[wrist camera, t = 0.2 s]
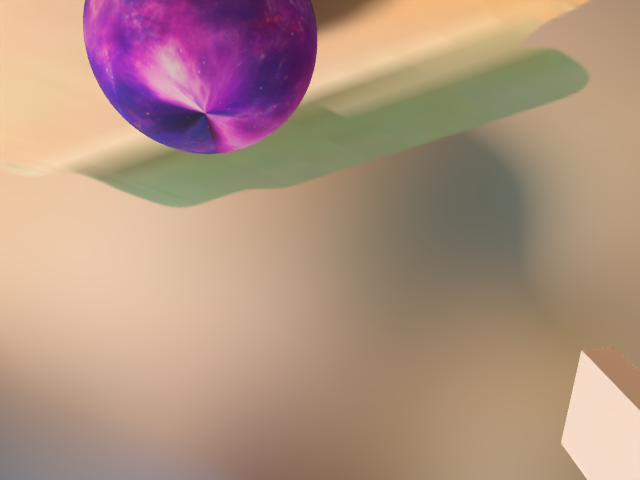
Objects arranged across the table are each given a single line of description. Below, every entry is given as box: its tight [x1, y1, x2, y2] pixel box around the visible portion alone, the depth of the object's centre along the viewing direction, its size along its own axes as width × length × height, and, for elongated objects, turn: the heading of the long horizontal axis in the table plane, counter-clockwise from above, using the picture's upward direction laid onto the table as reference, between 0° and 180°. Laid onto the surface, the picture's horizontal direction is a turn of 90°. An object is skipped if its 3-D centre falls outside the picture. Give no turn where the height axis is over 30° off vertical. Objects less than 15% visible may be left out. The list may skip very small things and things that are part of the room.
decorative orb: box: [83, 0, 317, 154], centre depth 36 cm, size 15×15×15 cm
